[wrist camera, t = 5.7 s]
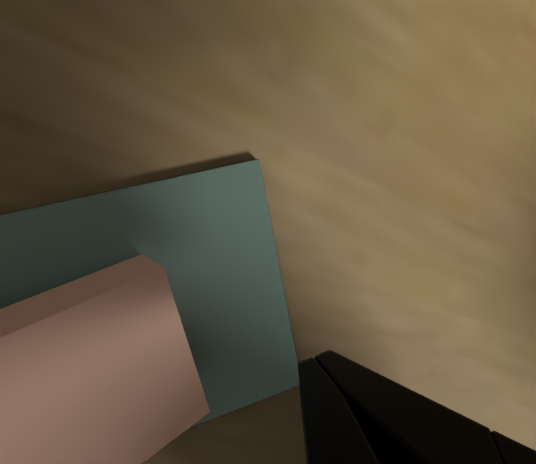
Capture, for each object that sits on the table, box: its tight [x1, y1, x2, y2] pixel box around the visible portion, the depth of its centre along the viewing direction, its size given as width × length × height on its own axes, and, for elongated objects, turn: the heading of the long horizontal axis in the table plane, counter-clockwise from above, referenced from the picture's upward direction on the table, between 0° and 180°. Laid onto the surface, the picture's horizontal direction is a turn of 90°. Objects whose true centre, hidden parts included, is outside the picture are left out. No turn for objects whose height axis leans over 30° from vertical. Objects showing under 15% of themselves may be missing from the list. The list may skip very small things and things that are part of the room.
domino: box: [0, 254, 210, 464], centre depth 7 cm, size 5×2×8 cm
